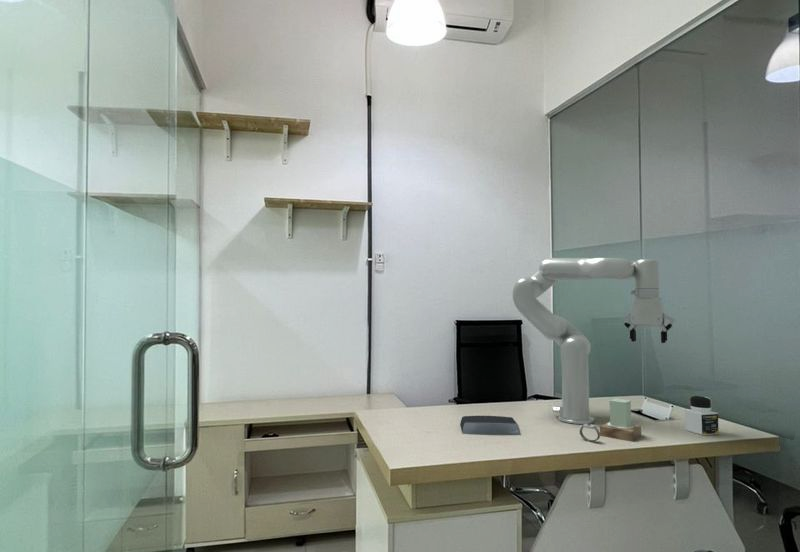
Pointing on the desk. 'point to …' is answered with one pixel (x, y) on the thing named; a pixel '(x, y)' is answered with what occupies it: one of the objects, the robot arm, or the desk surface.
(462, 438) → the desk surface
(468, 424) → the external hard drive
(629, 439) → the pedestal
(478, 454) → the desk surface
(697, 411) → the medicine bottle
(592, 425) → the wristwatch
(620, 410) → the sage block
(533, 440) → the desk surface
